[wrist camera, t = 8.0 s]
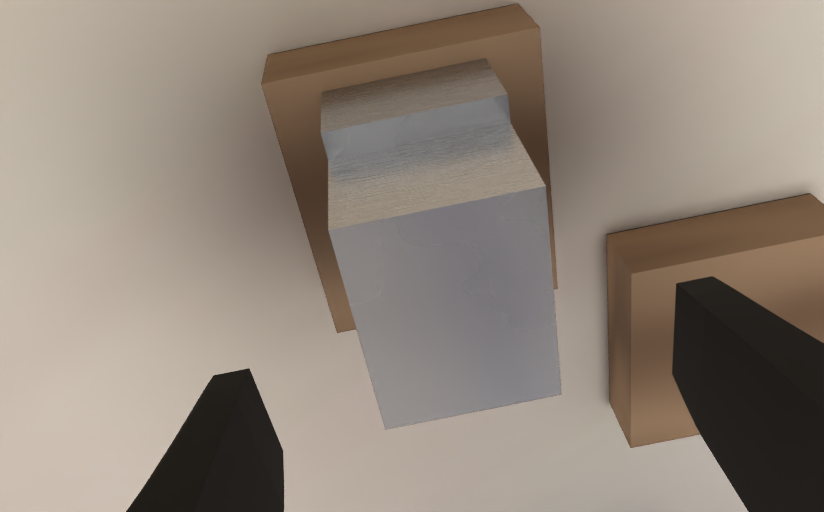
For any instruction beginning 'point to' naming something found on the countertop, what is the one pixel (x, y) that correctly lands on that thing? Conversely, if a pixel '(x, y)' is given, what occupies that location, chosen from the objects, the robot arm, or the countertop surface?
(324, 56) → the stand
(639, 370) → the stand
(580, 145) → the countertop surface
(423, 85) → the block
